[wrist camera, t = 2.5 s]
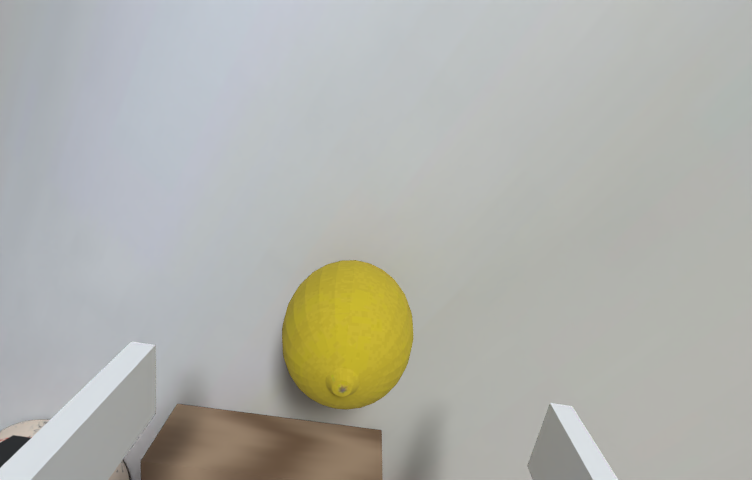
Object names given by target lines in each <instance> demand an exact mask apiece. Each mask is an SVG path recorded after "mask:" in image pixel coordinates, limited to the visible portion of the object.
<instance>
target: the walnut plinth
mask: <svg viewBox="0 0 752 480" xmlns="http://www.w3.org/2000/svg"><path fill="white" fill-rule="evenodd" d="M141 480H382V432H381V430H375V429H367V428H359V427H352V426H344V425H336V424H329V423H321V422H313V421H305V420H298V419H290V418H282V417H275V416H267V415H259V414H252V413H244V412H236V411H228V410H221V409H213V408H205V407H198V406H190V405H182V404H177V405H176V407H175V408H174V410H173V411H172V413H171V414H170V416H169V418H168V419H167V421H166V422H165V424H164V425H163V427H162V429H161V430H160V432H159V433H158V435H157V436H156V438H155V439H154V441H153V443H152V444H151V446H150V447H149V449H148V450H147V452H146V454H145V455H144V457H143V458H142V460H141Z"/></svg>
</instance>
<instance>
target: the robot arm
mask: <svg viewBox="0 0 752 480" xmlns="http://www.w3.org/2000/svg"><path fill="white" fill-rule="evenodd" d="M155 414H156V345H152V344H145V343H139V342H132V341H131V342H130V343H129V344H128V345H127V346H126V347H125V348H124V349H123V350H122V351H121V352H120V353H119V354H118V355H117V356H116V357H115V358H114V359H113V360H112V361H111V362H110V363H109V364H108V365H107V366H106V367H104V368H103V369H102V370H101V371H100V372H99V373H98V374H97V375H96V376H95V377H94V378H93V379H92V380H91V381H90V382H89V383H88V384H87V385H86V386H85V387H84V388H83V389H82V390H81V391H80V392H78V393H77V394H76V395H75V396H74V397H73V398H72V399H71V400H70V401H69V402H68V403H67V404H66V405H65V406H64V407H63V408H62V409H61V410H60V411H59V412H58V413H57V414H56V415H55V416H54V417H53V418H51V419H50V420H49V421H48V422H47V423H46V424H45V425H44V426H43V427H42V428H41V429H40V430H39V431H38V432H37V433H36V434H35V435H34V436H33V437H32V438H30V437H23V436H15V435H13V436H11V437H9V438H8V439H6V440H4V441H2V442H1V443H0V480H108V479H109V478H110V476H111V475H112V474H113V472H114V471H115V470H116V468H117V467H118V465H119V464H120V463H121V461H122V460H123V458H124V457H125V456H126V454H127V453H128V452H129V450H130V449H131V447H132V446H133V445H134V443H135V442H136V440H137V439H138V438H139V436H140V435H141V434H142V432H143V431H144V429H145V428H146V427H147V425H148V424H149V422H150V421H151V420H152V418H153V417H154V415H155ZM528 469H529V471H530V474H531V476H532V479H533V480H618V479H617V477H616V475H615V474H614V472H613V471H612V469H611V467H610V466H609V464H608V463H607V461H606V459H605V458H604V456H603V455H602V453H601V451H600V450H599V448H598V447H597V445H596V443H595V442H594V440H593V439H592V437H591V435H590V434H589V432H588V431H587V429H586V428H585V426H584V424H583V423H582V421H581V420H580V418H579V416H578V415H577V413H576V412H575V410H574V408H573V407H572V406H567V405H561V404H554V403H550V405H549V407H548V410H547V413H546V416H545V418H544V421H543V424H542V427H541V429H540V432H539V435H538V438H537V441H536V443H535V446H534V449H533V452H532V454H531V457H530V460H529V463H528Z"/></svg>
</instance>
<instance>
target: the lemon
mask: <svg viewBox="0 0 752 480" xmlns="http://www.w3.org/2000/svg"><path fill="white" fill-rule="evenodd" d="M282 343H283V356H284V360H285V363H286V366H287V368H288V371H289V374H290V376H291V377H292V379H293V380H294V382H295V383H296V385H297V386H298V388H299V389H300V390H301V391H302V392H303V393H304V394H306V395H307V396H308V397H309V398H311V399H312V400H314V401H316V402H318V403H320V404H322V405H325V406H328V407H331V408H336V409H354V408H361V407H363V406H366V405H369V404H372V403H374V402H376V401H377V400H379V399H381V398H382V397H384V396H385V395H386V394H387V393H388V392H389V391H390V390H391V389H392V388H393V387H394V386H395V385H396V384H397V382H398V381H399V379H400V377H401V376H402V374H403V372H404V370H405V368H406V366H407V364H408V360H409V356H410V352H411V348H412V343H413V323H412V314H411V310H410V308H409V305H408V302H407V299H406V297H405V294H404V293H403V291H402V290H401V288H400V287H399V286H398V284H397V283H396V281H395V280H394V279H393V278H392V277H391V276H389V275H388V274H387V273H386V272H385V271H383V270H382V269H380V268H378V267H376V266H374V265H372V264H369V263H365V262H361V261H356V260H350V261H339V262H335V263H331V264H327V265H325V266H324V267H322V268H320V269H318V270H316V271H314V272H313V273H312V274H311V275H310V276H309V277H308V278H307V279H306V280H304V281H303V282H302V283H301V284H300V286H299V287H298V289H297V290H296V292H295V294H294V295H293V297H292V299H291V300H290V302H289V304H288V307H287V311H286V315H285V318H284V322H283V328H282Z"/></svg>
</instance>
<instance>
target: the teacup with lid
mask: <svg viewBox="0 0 752 480" xmlns="http://www.w3.org/2000/svg"><path fill="white" fill-rule="evenodd" d="M48 421H49V420H44V419H40V420H30V421H24V422H20V423H17V424H14V425H12V426H9V427H7V428H5V429H4V430H2V431H1V432H0V443H1V442H2V441H4V440H6V439H8V438H9V437H11V436H13V435H15V436H23V437H30V438H32V437H33V436H34V435H35V434H36V433H37V432H38V431H39V430H40V429H41V428H42V427H43V426H44V425H45V424H46V423H47V422H48ZM108 480H129V475H128V471H127V468H126V466H125V464H124V462H123V460H122V461H121V463H120V464H119V465H118V467H117V468H116V470H115V471H114V472H113V474H112V475H111V476H110V478H109V479H108Z"/></svg>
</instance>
